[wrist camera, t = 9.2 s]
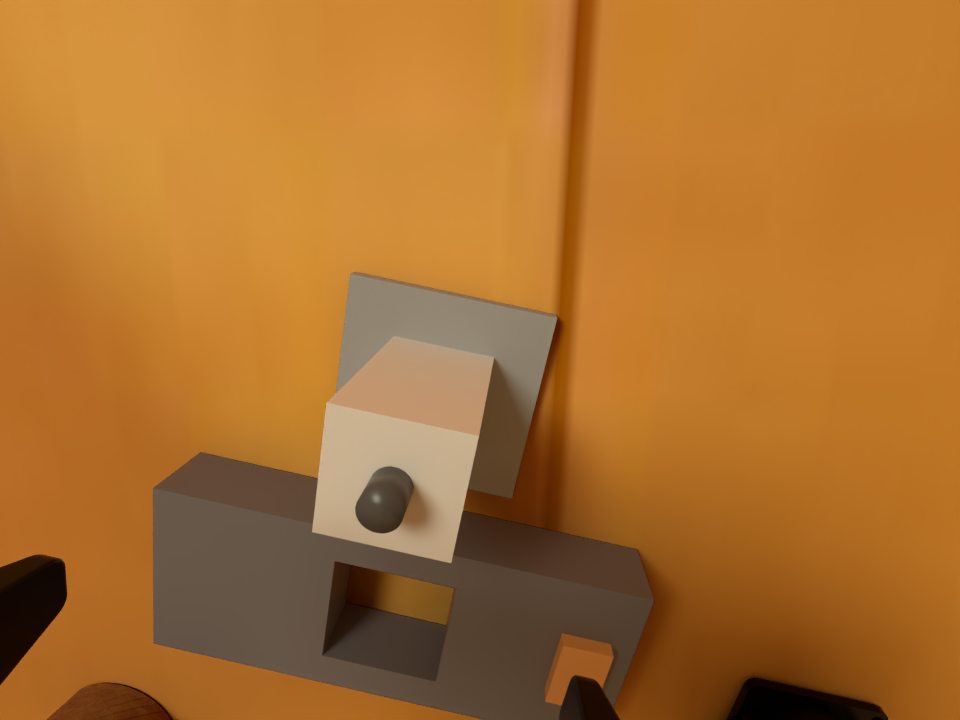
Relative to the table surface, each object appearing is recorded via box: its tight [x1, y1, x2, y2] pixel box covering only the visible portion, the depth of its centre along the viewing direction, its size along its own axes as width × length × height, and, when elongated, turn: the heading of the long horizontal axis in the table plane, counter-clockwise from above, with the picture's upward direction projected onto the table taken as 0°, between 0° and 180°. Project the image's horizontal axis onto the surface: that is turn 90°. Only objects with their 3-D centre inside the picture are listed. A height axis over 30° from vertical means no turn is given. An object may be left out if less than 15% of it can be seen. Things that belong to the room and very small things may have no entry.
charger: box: [312, 336, 494, 563], centre depth 16 cm, size 4×4×8 cm
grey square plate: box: [336, 272, 557, 499], centre depth 20 cm, size 8×8×1 cm
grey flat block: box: [153, 452, 654, 720], centre depth 22 cm, size 20×8×4 cm, turn 79°
